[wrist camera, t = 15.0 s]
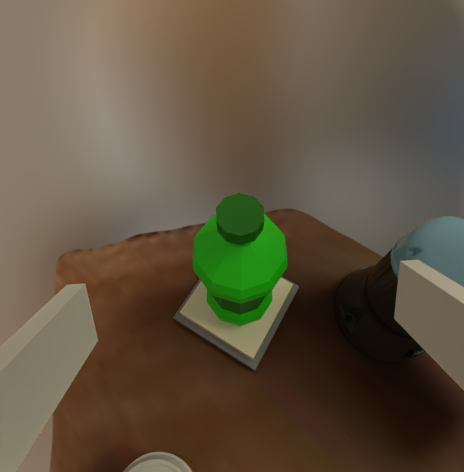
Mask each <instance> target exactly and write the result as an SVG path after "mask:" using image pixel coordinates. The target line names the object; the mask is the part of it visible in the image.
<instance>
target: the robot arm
mask: <svg viewBox="0 0 464 472" xmlns="http://www.w3.org/2000/svg"><path fill="white" fill-rule="evenodd" d="M335 314H336V318H337V321H338V324H339V326H340V328H341V330H342V332H343V334H344V335H345V337H346V338H347V339H348V340H349V341H350V343H351V344H352V345H353V346H355V347H356V348H357V349H358V350H360V351H361V352H362V353H364V354H366V355H368V356H370V357H372V358H374V359H377V360H381V361H387V362H399V361H404V360H408V359H411V358H414V357H416V356H418V355H420V354H421V353H423V352H424V351H426V352H427V353H428V354H429V355H430V356H431V357H432V358H433V359H434V360H435V361H436V362H437V363H438V364H439V365H440V367H441V368H442V369H443V370H444V371H445V372H446V373H447V374H448V375H449V376H450V377H451V378H452V379H453V380H454V381H455V382H456V383H457V384H458V385H459V386H460V387H461V388H462V389H463V390H464V217H461V218H457V217H454V216H444V217H438V218H434V219H430V220H428V221H425V222H423V223H422V224H420V225H418V226H417V227H416V228H414V229H413V230H412V231H411V232H409V233H407V234H405V235H404V236H402V237H401V238H400V239H399V240H398V241H397V242H396V244H395V246H394V247H393V248H392V250H391V251H390V252H389V253H388V254H387V255H386V256H385V257H384V258H383V259H381V260H380V261H379V262H378V263H377V264H376V265H372V266H367V267H363V268H361V269H358V270H357V271H355V272H353V273H352V274H351V275H349V276H348V277H347V278H346V280H345V281H344V282H343V283H342V284H341V286H340V287H339V289H338V292H337V294H336V298H335ZM97 341H98V338H97V333H96V329H95V324H94V320H93V315H92V311H91V306H90V302H89V297H88V293H87V289H86V284H71V285H66V286H65V287H64V288H63V289H62V290H61V291H60V292H58V293H57V294H56V295H55V296H54V297H53V298H52V299H51V300H50V301H49V302H48V303H47V304H46V305H44V306H43V307H42V308H41V309H40V310H39V311H38V312H37V313H36V314H35V315H34V316H33V317H32V318H31V319H29V320H28V321H27V322H26V323H25V324H24V325H23V326H22V327H21V328H20V329H19V330H17V332H15V333H14V334H13V335H12V336H11V337H10V338H9V339H8V340H7V341H6V342H5V343H4V344H2V345H1V346H0V472H17V470H18V469H19V467H20V465H21V464H22V462H23V461H24V459H25V457H26V456H27V454H28V453H29V451H30V449H31V447H32V446H33V444H34V443H35V441H36V440H37V438H38V436H39V435H40V433H41V432H42V430H43V428H44V427H45V425H46V424H47V422H48V420H49V419H50V417H51V415H52V414H53V412H54V411H55V409H56V407H57V406H58V404H59V403H60V401H61V399H62V398H63V396H64V395H65V393H66V391H67V390H68V388H69V386H70V385H71V383H72V382H73V380H74V378H75V377H76V375H77V374H78V372H79V370H80V369H81V367H82V366H83V364H84V362H85V361H86V359H87V357H88V356H89V354H90V353H91V351H92V349H93V348H94V346H95V345H96V343H97Z"/></svg>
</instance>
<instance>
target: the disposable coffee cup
mask: <svg viewBox="0 0 464 472" xmlns="http://www.w3.org/2000/svg"><path fill="white" fill-rule="evenodd" d="M123 472H196V471H195V468H194V467H193V465H192V463H191V462H190V461H189V460H188V459H187V458H185V457H183V456H180V455H173V454H171V453H166V452H152V453H148V454H145V455H143V456H141V457H139V458H138V459H136V460H135V461H133V462H132V463H131V464H130V465H129V466H128V467H127V468H126V469H125V470H124V471H123Z"/></svg>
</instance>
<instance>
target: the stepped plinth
mask: <svg viewBox="0 0 464 472" xmlns="http://www.w3.org/2000/svg"><path fill="white" fill-rule="evenodd" d="M298 288H299V286H298V285H296V284H294V283H293V282H291V281H289V280H287V279H285V278H283V277H281V278H280V279H279V281H278V282H277V284H276V285H275V287H274V288H273V290H272V298H273V300H272V303H271V304H270V306H269V307H268V309H267V310H266V312H265V313H264V315H263V316H262V318H261V319H260V320H257V321H254V322H251V323H249V324H246V325H243V326H237V325H234V324H231V323H228V322H224V321H221V320H219V319H218V317H217V316H216V314H215V313H214V312H213V310H212V309H211V307H210V306H209V305H208V303H207V288H206V287H205V285H204V284H203V283H202V281H201V280H200V279H199V280H198V282H197V283H196V285H195V286H194V288H193V289H192V291H191V292H190V294H189V295H188V296H187V298H186V299H185V301H184V302H183V304H182V305H181V307H180V308H179V309H178V311H177V312H176V314H175V315H174V317H173V318H174V319H175V320H176V321H177V322H179V323H180V324H182V325H183V326H185V327H187V328H188V329H190V330H191V331H193V332H194V333H196V334H197V335H199V336H201V337H202V338H204V339H205V340H207V341H208V342H210V343H211V344H213V345H215V346H216V347H218V348H219V349H221V350H222V351H224V352H225V353H227V354H229V355H230V356H232V357H233V358H235V359H236V360H238V361H239V362H241V363H243V364H244V365H246V366H247V367H249V368H250V369H252V370H253V371H255V370H256V368H257V366H258V364H259V362H260V360H261V358H262V356H263V355H264V353H265V351H266V349H267V347H268V345H269V343H270V341H271V339H272V337H273V336H274V334H275V332H276V330H277V328H278V326H279V324H280V322H281V320H282V318H283V317H284V315H285V313H286V311H287V309H288V307H289V305H290V303H291V301H292V299H293V297H294V296H295V294H296V292H297V290H298Z"/></svg>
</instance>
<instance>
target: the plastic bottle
mask: <svg viewBox="0 0 464 472" xmlns="http://www.w3.org/2000/svg"><path fill="white" fill-rule="evenodd" d="M287 266H288V260H287V251H286V241H285V236H284V235H283V233H282V232H281V231H280V230H279V229H278V228H277V226H276V225H275V224H274V223H273V222H272V221H271V220H270V219H269V218H268V217H267V216H266V215H265V214H264V208H263V206H262V205H261V204H260V203H259V202H258V201H257V199H256V198H255V197H253V196H249V195H245V194H240V193H239V194H236V195H232V196H228V197H225V198H224V199H223V201H222V202H221V203H220V204H219V205H218V206H217V208H216V214H215V215H213V216H212V217H211V218H210V219H209V220H208V222H207V223H206V224H205V225H204V226H203V227H202V229H201V230H200V231H199V232H198V233H197V234H196V236H195V238H194V245H193V264H192V267H193V270H194V272H195V273H196V274H197V276H198V277H199V279H200V280H201V281H202V283H203V284H204V285H205V287H206V288H207V303H208V305H209V306H210V307H211V309H212V310H213V312H214V313H215V314H216V316H217V317H218V319H219V320H221V321H224V322H228V323H231V324H234V325H237V326H243V325H246V324H249V323H251V322H254V321H257V320H260V319H261V318H262V316H263V315H264V313H265V312H266V310H267V309H268V307H269V306H270V304H271V303H272V300H273V298H272V290H273V288H274V287H275V285H276V284H277V282H278V281H279V279H280V278H281V276H282V275H283V273H284V272H285V270H286V269H287Z"/></svg>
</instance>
